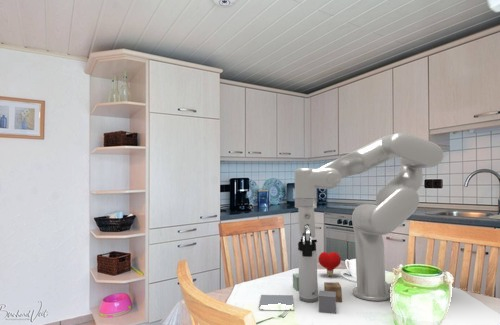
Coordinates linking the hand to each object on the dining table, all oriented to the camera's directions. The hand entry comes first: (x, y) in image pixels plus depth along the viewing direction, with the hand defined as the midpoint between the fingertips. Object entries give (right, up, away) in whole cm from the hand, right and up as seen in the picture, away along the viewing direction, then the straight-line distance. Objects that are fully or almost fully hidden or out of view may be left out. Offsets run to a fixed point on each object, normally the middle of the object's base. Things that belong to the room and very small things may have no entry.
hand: (306, 253), depth 110 cm
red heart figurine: (+15, -17, +25) cm, 33 cm away
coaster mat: (-11, -15, -5) cm, 19 cm away
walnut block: (+9, -15, -2) cm, 18 cm away
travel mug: (+1, -16, -1) cm, 16 cm away
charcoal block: (+5, -15, -10) cm, 19 cm away
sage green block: (0, -16, +10) cm, 19 cm away
